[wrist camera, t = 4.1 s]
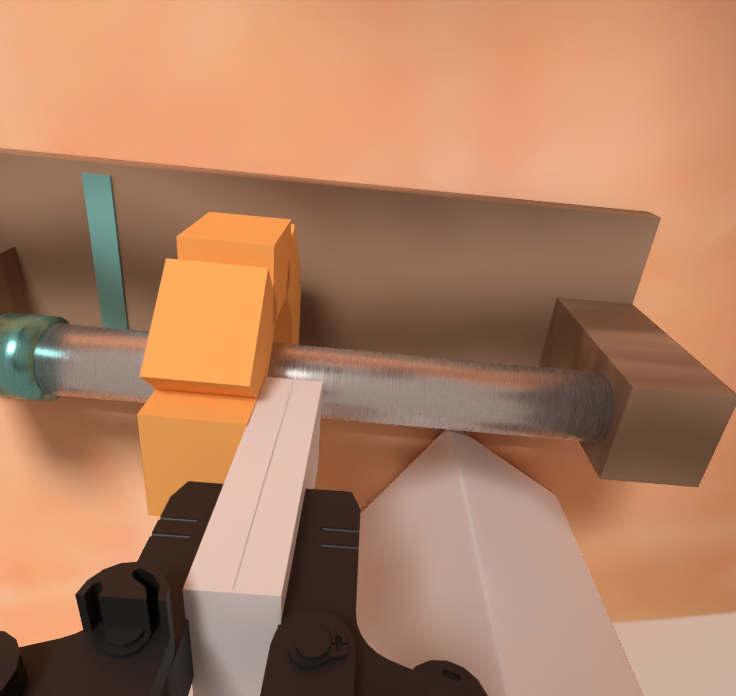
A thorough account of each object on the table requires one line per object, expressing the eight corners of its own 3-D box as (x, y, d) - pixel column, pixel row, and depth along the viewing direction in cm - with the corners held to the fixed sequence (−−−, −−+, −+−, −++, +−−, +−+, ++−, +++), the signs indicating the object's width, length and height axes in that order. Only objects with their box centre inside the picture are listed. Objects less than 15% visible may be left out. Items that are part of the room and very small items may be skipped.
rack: (-69, 141, 20) (-322, 173, 13) (648, 211, 21) (793, 280, 13) (-10, 376, 24) (-174, 499, 17) (579, 428, 25) (660, 567, 18)
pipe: (-113, 286, 17) (-192, 319, 15) (638, 355, 17) (678, 397, 15) (-90, 360, 18) (-159, 401, 16) (615, 422, 19) (649, 470, 16)
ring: (235, 192, 19) (120, 277, 10) (304, 199, 19) (245, 289, 10) (238, 415, 23) (158, 604, 14) (295, 420, 23) (248, 610, 14)
